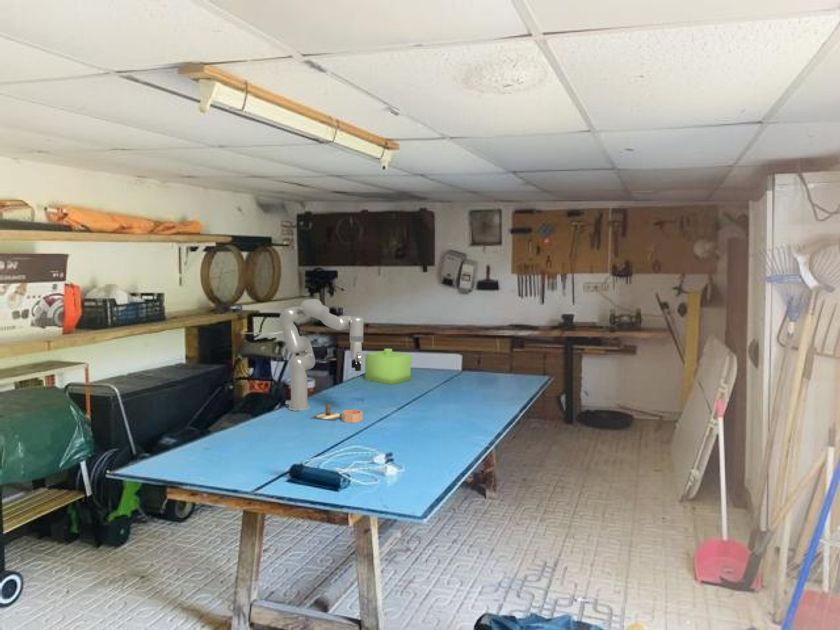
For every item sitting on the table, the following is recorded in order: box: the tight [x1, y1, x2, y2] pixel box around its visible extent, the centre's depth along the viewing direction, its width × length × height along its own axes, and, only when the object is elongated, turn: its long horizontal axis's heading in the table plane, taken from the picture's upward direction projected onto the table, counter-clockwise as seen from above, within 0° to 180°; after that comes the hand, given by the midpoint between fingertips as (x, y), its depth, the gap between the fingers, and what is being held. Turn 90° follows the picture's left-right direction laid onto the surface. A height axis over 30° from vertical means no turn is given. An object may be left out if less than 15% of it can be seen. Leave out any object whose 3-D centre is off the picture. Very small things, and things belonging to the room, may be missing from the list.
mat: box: [309, 412, 342, 422], centre depth 366 cm, size 15×15×1 cm
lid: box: [315, 403, 341, 421], centre depth 366 cm, size 13×13×7 cm
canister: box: [364, 348, 412, 386], centre depth 474 cm, size 25×21×23 cm
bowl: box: [341, 409, 364, 424], centre depth 359 cm, size 11×11×5 cm
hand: (356, 369), depth 368 cm, fingers open, 9 cm apart
